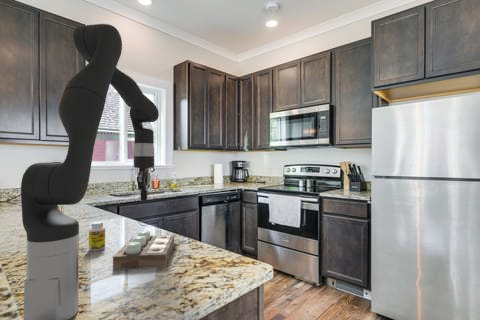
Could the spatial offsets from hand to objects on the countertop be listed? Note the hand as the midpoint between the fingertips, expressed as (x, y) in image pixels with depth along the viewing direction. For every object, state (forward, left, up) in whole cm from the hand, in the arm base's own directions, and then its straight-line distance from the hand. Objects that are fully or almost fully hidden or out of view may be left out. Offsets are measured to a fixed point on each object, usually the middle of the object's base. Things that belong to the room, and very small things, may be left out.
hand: (144, 200), depth 101 cm
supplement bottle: (+2, +18, -19) cm, 26 cm away
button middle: (-8, 0, -16) cm, 18 cm away
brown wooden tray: (-8, -3, -19) cm, 21 cm away
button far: (0, 0, -16) cm, 16 cm away
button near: (-15, 0, -16) cm, 22 cm away
